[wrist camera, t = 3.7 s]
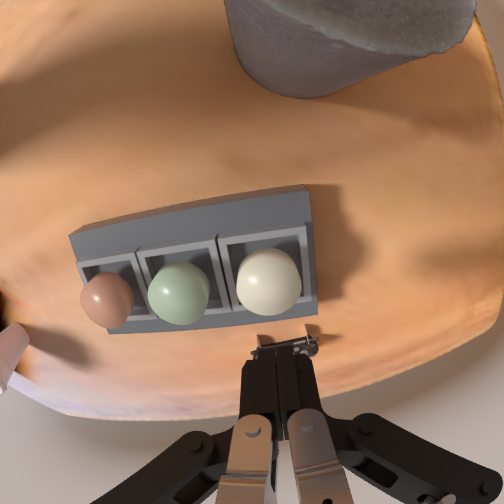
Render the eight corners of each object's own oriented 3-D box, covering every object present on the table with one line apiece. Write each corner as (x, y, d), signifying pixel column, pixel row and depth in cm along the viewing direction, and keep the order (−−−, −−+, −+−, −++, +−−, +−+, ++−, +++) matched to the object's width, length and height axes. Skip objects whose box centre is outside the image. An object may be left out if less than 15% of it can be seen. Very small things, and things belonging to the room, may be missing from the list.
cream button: (232, 252, 18) (230, 264, 17) (294, 243, 18) (298, 254, 16) (243, 303, 20) (242, 319, 18) (299, 296, 19) (303, 310, 18)
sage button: (148, 265, 19) (139, 277, 17) (203, 256, 18) (198, 269, 17) (165, 312, 20) (158, 326, 18) (216, 307, 20) (212, 322, 18)
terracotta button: (84, 274, 19) (72, 285, 17) (124, 268, 19) (114, 280, 17) (102, 316, 20) (93, 329, 19) (142, 314, 20) (134, 328, 19)
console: (83, 225, 22) (61, 239, 18) (302, 184, 20) (311, 193, 17) (118, 319, 25) (105, 340, 22) (312, 298, 24) (320, 321, 21)
